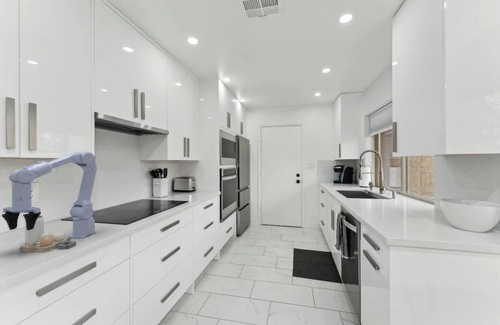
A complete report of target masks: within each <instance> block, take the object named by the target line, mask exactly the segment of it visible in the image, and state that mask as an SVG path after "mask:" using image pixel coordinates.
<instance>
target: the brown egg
mask: <svg viewBox="0 0 500 325" xmlns="http://www.w3.org/2000/svg"><path fill="white" fill-rule="evenodd" d="M52 243H53V238H52V237H50V236H46V237H43V238H42V239H41V240H40V245H41V246H49V245H51V244H52Z"/></svg>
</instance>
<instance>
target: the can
mask: <svg viewBox="0 0 500 325" xmlns="http://www.w3.org/2000/svg"><path fill="white" fill-rule="evenodd" d="M43 233H45V218H44V216H43V215H40V216H39V217H38V219H37V220H36V223H35V226H34V229H32V230H27V228H26V221H24V243H25V245H28V244H30V243H33V242H36V241H39V240H41V239H40V236H41V235H42V234H43Z"/></svg>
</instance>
